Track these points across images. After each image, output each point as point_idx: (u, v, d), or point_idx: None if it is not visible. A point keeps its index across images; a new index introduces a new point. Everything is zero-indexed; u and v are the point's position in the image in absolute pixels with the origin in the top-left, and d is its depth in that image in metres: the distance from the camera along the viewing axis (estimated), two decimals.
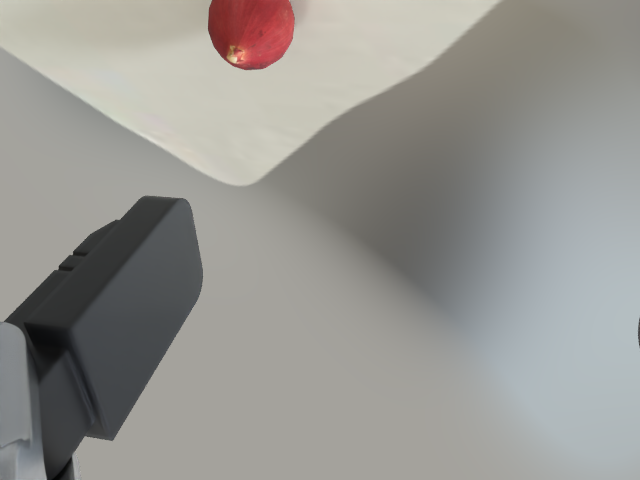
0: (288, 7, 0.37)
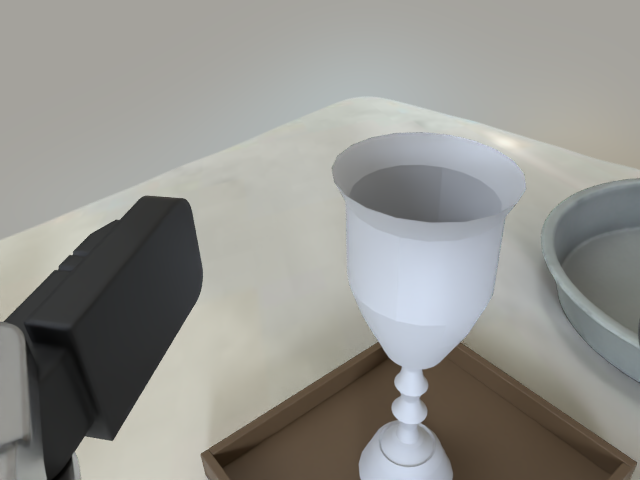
0: None
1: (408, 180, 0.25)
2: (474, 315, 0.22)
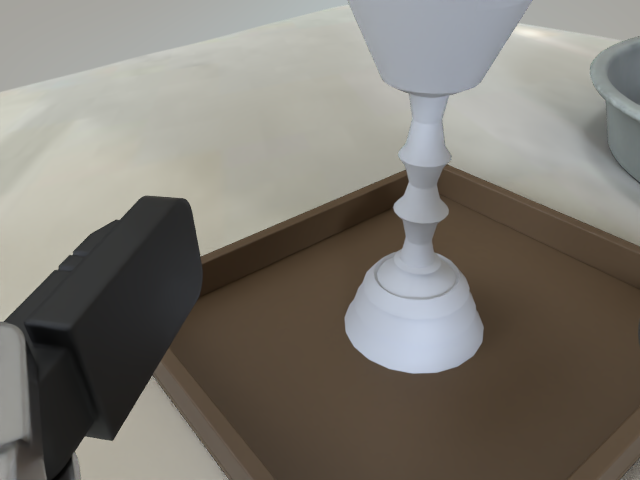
0: None
1: None
2: None
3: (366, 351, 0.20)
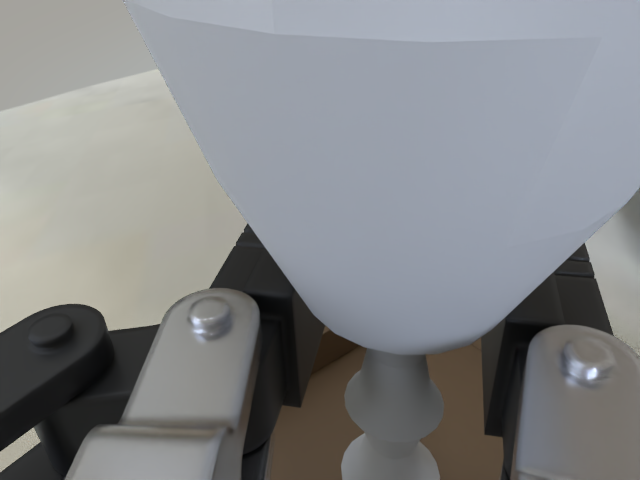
0: None
1: None
2: None
3: None
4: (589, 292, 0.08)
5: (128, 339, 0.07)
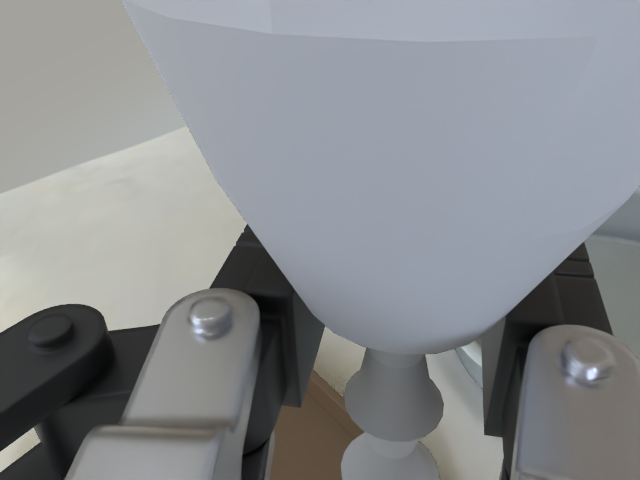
0: None
1: None
2: None
3: None
4: (589, 292, 0.08)
5: (128, 339, 0.07)
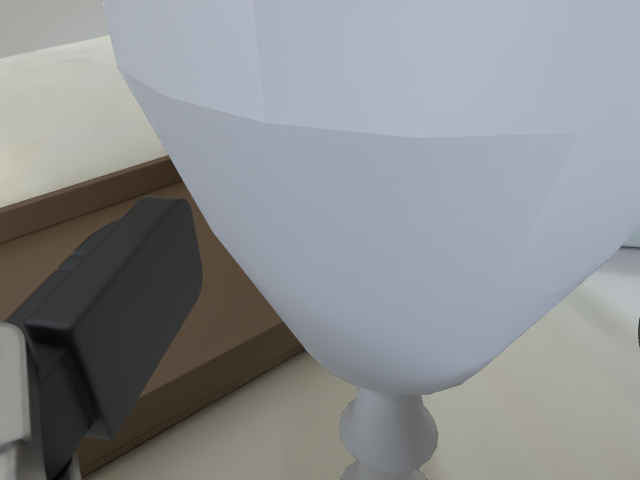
0: None
1: None
2: None
3: None
4: None
5: None
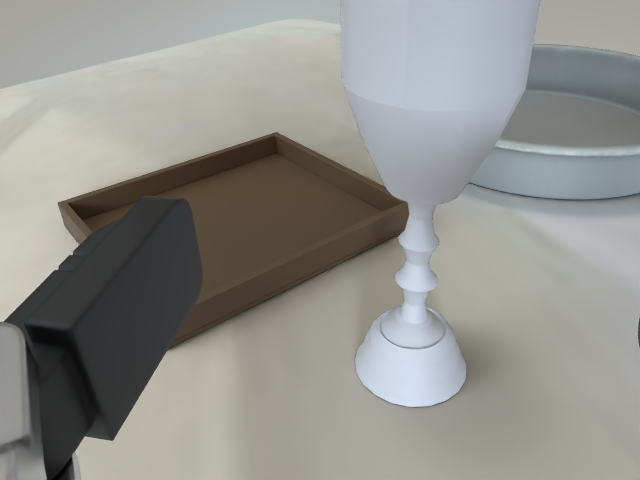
0: None
1: None
2: (503, 103, 0.17)
3: (372, 388, 0.25)
4: None
5: None
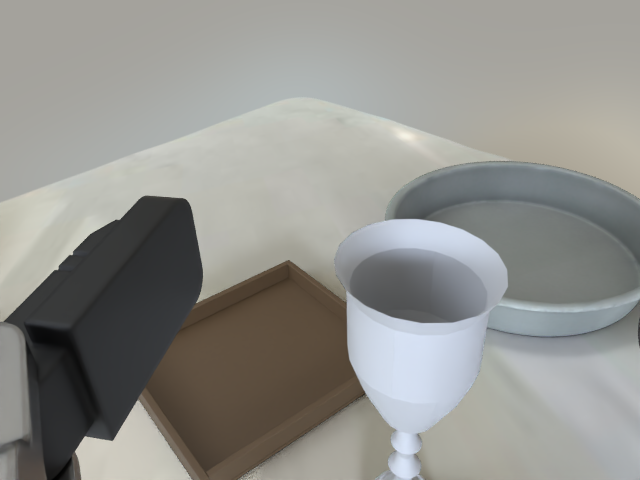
0: None
1: (403, 260, 0.27)
2: (462, 392, 0.24)
3: None
4: None
5: None
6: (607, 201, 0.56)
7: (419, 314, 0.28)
